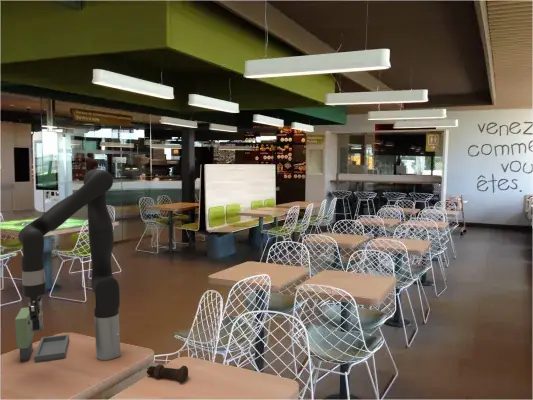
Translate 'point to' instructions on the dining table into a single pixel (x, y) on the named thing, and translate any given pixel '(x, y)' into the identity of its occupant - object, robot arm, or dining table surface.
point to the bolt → (168, 372)
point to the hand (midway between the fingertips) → (37, 327)
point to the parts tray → (52, 348)
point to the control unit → (24, 334)
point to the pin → (39, 322)
